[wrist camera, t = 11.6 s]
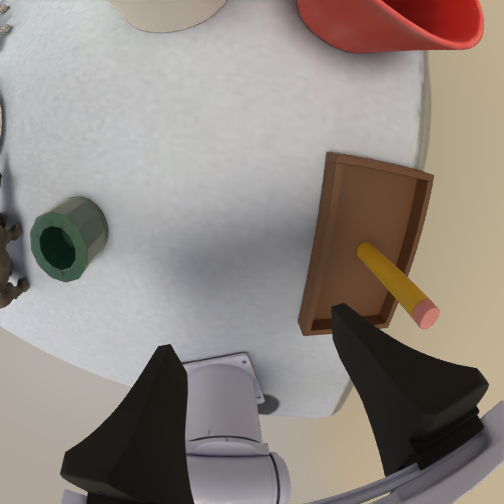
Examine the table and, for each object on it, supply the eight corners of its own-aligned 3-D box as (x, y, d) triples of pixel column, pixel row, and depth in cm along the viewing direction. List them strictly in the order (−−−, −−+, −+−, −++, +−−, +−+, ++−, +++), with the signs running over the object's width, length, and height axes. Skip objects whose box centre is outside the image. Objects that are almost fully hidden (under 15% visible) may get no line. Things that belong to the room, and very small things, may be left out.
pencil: (372, 256, 22) (437, 324, 13) (356, 260, 22) (417, 333, 13) (372, 239, 21) (442, 304, 13) (355, 244, 21) (422, 313, 13)
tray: (379, 315, 26) (388, 327, 24) (297, 321, 25) (302, 336, 23) (420, 170, 19) (434, 175, 18) (326, 151, 18) (337, 154, 16)
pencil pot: (117, 248, 20) (98, 273, 16) (70, 263, 20) (49, 287, 16) (94, 187, 17) (68, 201, 14) (47, 208, 17) (21, 226, 14)
